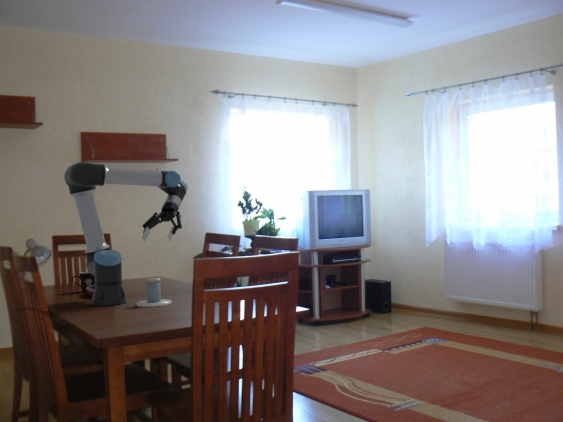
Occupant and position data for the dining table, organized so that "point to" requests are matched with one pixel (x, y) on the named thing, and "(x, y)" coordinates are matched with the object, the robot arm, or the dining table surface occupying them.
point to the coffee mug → (85, 280)
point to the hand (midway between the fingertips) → (156, 239)
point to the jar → (153, 290)
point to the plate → (145, 304)
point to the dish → (90, 290)
